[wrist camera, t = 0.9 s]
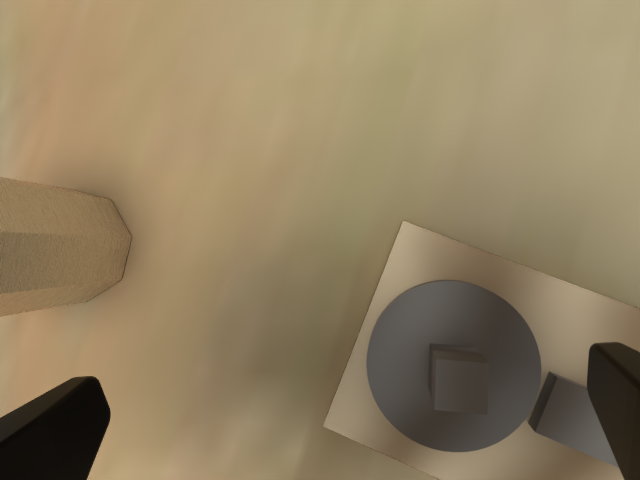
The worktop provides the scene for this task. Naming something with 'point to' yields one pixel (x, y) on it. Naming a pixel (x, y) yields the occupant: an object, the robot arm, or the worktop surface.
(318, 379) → the worktop surface
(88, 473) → the robot arm
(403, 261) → the board
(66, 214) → the silver cylindrical piece
